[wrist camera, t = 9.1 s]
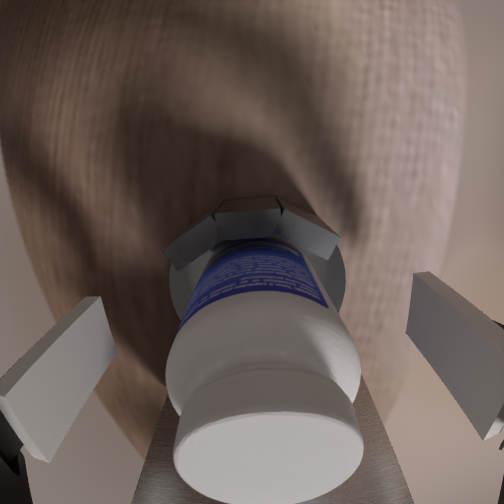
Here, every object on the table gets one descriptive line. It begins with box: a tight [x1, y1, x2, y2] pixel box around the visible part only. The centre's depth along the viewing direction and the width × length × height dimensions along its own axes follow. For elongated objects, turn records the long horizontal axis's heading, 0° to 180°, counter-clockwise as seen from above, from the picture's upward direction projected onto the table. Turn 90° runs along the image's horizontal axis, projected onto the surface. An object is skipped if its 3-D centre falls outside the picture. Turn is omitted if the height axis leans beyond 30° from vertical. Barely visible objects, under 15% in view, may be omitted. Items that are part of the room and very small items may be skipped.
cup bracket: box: [131, 196, 414, 504], centre depth 10 cm, size 11×11×10 cm
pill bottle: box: [165, 236, 364, 504], centre depth 10 cm, size 5×5×10 cm
